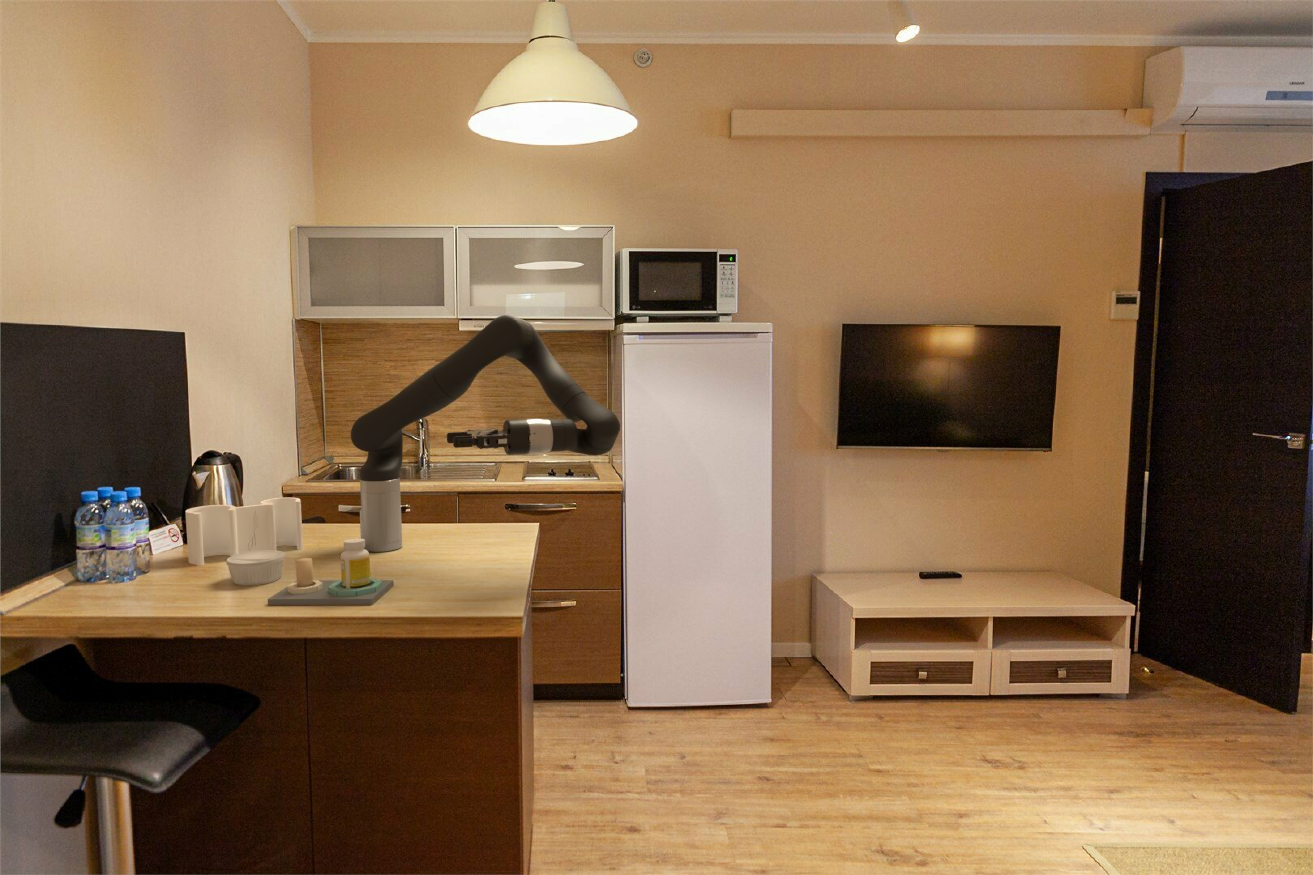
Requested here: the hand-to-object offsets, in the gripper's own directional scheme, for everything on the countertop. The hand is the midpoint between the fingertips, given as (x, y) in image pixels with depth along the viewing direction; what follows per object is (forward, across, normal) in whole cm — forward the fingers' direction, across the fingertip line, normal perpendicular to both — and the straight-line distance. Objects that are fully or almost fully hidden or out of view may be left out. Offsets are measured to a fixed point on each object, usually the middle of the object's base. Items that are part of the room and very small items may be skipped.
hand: (450, 440), depth 173 cm
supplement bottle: (+19, +1, +29) cm, 35 cm away
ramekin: (+38, -20, +30) cm, 53 cm away
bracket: (+42, -46, +30) cm, 69 cm away
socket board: (+24, -1, +30) cm, 38 cm away
